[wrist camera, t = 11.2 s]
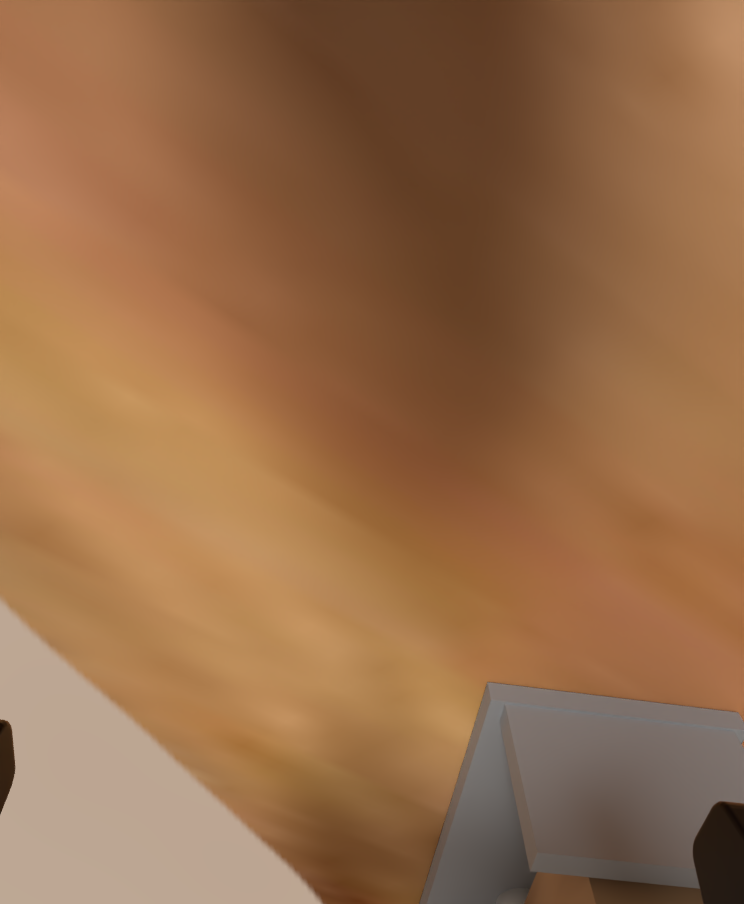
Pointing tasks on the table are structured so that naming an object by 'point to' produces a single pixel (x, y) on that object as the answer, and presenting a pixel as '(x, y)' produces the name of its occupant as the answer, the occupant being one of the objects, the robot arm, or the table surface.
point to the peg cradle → (581, 793)
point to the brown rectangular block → (605, 891)
